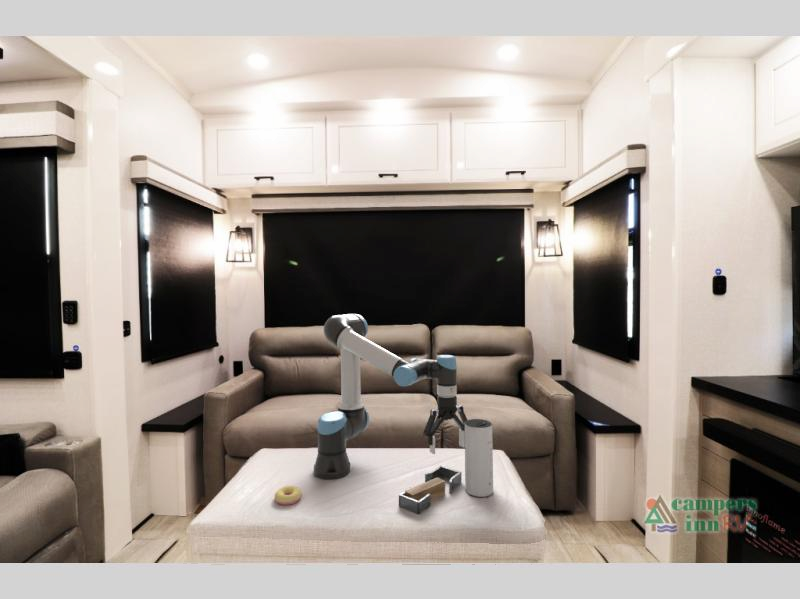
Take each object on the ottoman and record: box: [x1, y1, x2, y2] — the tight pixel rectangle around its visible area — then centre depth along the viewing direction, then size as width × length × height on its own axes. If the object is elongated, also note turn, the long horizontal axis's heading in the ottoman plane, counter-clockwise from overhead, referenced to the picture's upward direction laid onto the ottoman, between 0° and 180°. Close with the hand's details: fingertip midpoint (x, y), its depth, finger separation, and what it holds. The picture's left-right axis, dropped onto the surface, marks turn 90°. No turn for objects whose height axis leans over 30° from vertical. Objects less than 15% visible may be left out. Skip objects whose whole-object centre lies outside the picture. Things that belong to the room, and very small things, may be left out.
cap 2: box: [424, 465, 462, 494], centre depth 158 cm, size 12×10×4 cm
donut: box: [274, 485, 303, 506], centre depth 147 cm, size 10×5×9 cm
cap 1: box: [398, 486, 431, 515], centre depth 142 cm, size 9×7×4 cm
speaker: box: [464, 418, 494, 498], centre depth 153 cm, size 11×10×26 cm
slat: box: [404, 477, 446, 502], centre depth 147 cm, size 4×16×5 cm, turn 130°
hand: (447, 449), depth 159 cm, fingers open, 13 cm apart
